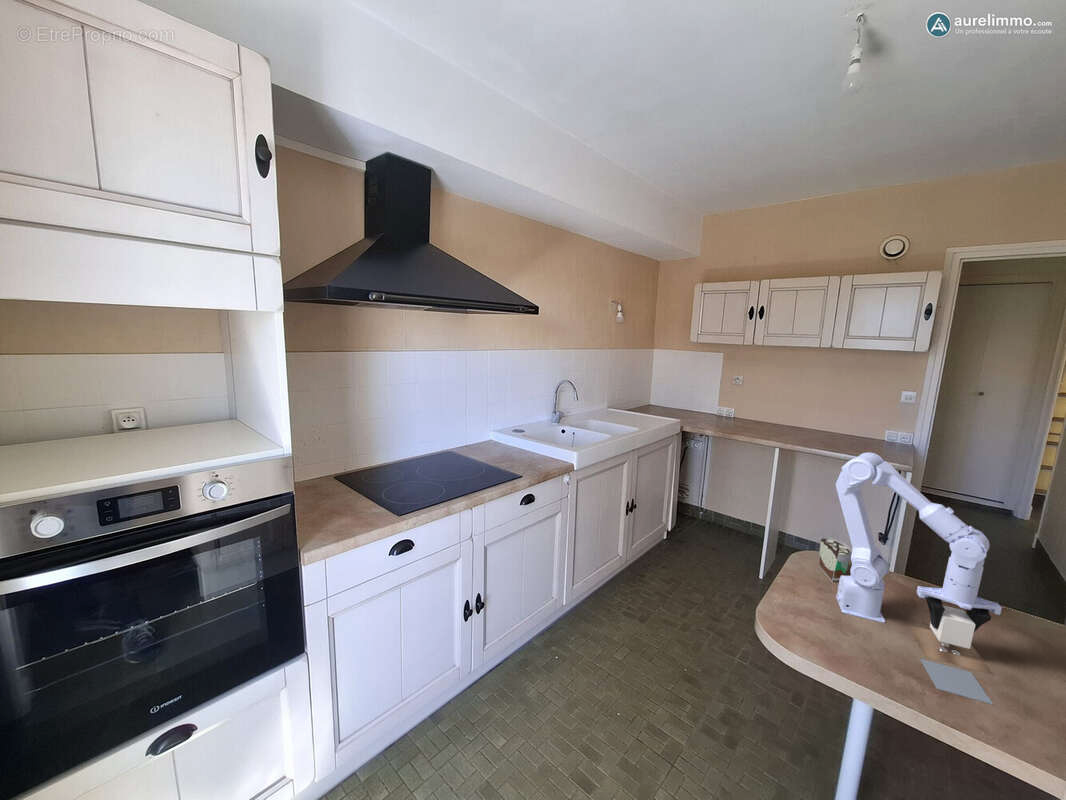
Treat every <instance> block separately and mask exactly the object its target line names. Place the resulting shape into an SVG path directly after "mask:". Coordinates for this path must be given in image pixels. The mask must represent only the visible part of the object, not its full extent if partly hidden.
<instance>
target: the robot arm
mask: <svg viewBox="0 0 1066 800" xmlns="http://www.w3.org/2000/svg"><path fill="white" fill-rule="evenodd" d="M871 480H873V481H872V483H871V484H872V485H876V486H881V487H887V488H889V489H891V490H892V491H893V492H894V493H896V494H897V495H898V496H899V497H901V498H902V499H903V500H904V501H905V502H907V503H908V504H909V505H910V506H912V507H913V508H914V509H916V510H917V511H918V514H919V516H918V517H919V520H921V522H923V523H924V524H925V525H926V526H928V527H929V528H930V529H931V530H932V531H933V532H934V533H936V535H938V536H939V537H940V538H942V539H943V540H944V541H945V542H947V543H948V544H949V549H950V551H951V554H950V556H949V557H948V561H947V566H946V570H945V575H944V580H943V585H942V588H940V587H927V586H920V585H917V588H916V594H917V595H918V597H919V598H922V599H925V601H926V603H927V606H928V609H929V615H930V623H931V624H932V626H933V627H934V628H935V629H938V628H939V625H940V619H941V616H942V614H943V612H944V611H945V608H944V607H943V606H944V605H943V604H944V603H943V602H947V603H950V604H953V605H956V606H958V607H959V608H960V609H963V610H964V609H965V610H966V614H967V615H968V616H969V617H970V618H971V620H972V621H973V622H974V623H975V629H974V634H975V633H976V631H977V630H979V628H980V627H981V626H982V625H984V624H986V623H987V622H989V621H991V620H992V615H991V614H990V612H991V613H992V614H995V615H998V616H1001V613H1002V610H1003V609H1002V608H1003V607H1001V605H1000V604H999V603H998V602H995V601H991V600H988V599H984V598H982V597H980V596H979V597H978V593H979V589H980V585H981V580H982V577H983V571H984V564H985V558H987V554H988V551H989V550H990V540H989V539H988V538H987V536H986V535H985V534H984V533H983V532H982V531H980V530H978V529H975V528H974V527H973V526H972V525H969V526H968V524H966V523H965V522H963V520H962V519H960V518H959V517H958V516H957V515H955V514H954V513H955V511H954V510H953V509H952V508H951V507H949V506H947V507H946V506H944V505H943V504H941V503H940V504H939V503H935V502H931V500H929V499H928V498H927V497H926V496H924V494H922V492H920V490H918V489H917V488H916V487H915V486H914V485H913V484H911V483H910V482H909V480H907V479H906V478H905V477H904V476H902V474H901V473H900V472H898V471H897V469H895V468H894V467H893V465H892V464H890V463H889V462H888V461H886V460H885V461H884V459H883V458H882V457H881V456H880V455H878V454H876V453H873V452H863V453H861V454H859V455H858V456H856V457H855V458H851V459H850V460H848V461H847V462H846V463H845V464H844V465H843V466H841V471H840V473H839V476H838V478H837V481H836V482H835V488H836V492H837V494H838V495H837V496H838V499H839V504H840V507H841V510H842V514H843V518H844V520H845V521H844V522H845V525H846V528H847V533H848V536H849V539H850V544H851V548H852V549H851V551H852V554H851V560H850V561H851V567H850V575H845V576H844V575H841V577H840V580H839V582H838V586H837V593H836V595H835V598H836V600H837V602H838V605H839V608H840V611H841V613H843V614H846V615H851V616H854V617H859V618H863V619H866V620H871V621H875V622H879V623H883V624H885V623H886V620H885V618H884V616H883V614H882V612H881V610H882V603H883V600H884V599H883V598H884V594H885V593H884V592H885V586H886V583H885V581H884V579H883V578H884V576H885V575H887V574H888V573H889V571H890V566H889V563H888V561H887V560H886V559H885V558H884V556H883V555H882V551H881V549H880V548H878V547H877V545H876V543H875V538H874V536H873V535H874V534H873V532H872V528H871V525H870V521H869V517H868V514H867V510H866V509H867V508H866V507H865V503H864V500H863V495H862V491H861V488H862V487H863V486H864V485H865V484H866V483H867V482H869V481H871Z"/></svg>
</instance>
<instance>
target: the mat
mask: <svg viewBox="0 0 1066 800" xmlns="http://www.w3.org/2000/svg"><path fill="white" fill-rule="evenodd" d="M919 660H920V662H921V663H922V666H923V667H924V668H925V671H926V672H927V674H928V676H929V678H930V679H931V681H932V683H933V685H934V686H935V688H936V690H939V691H943V692H946V693H950V694H954V695H957V696H961V697H964V698H968V699H971V700H973V701H977V702H982V703H984V704H989V705H994V703H993V702H992V700H991V699H990V697H989V696H988V695H987V693H986V692H985V691H984V689H983V687H982V686H981V685H980V683H979V682H978V680H977V679H976V677H975V676H974V674H973V673H972V672H971V671H968V670H964V669H960V668H957V667H952V666H949V665H945V664H941V663H937V662H934V661H930V660H927V659H922V658H920V659H919Z"/></svg>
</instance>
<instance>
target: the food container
mask: <svg viewBox="0 0 1066 800" xmlns="http://www.w3.org/2000/svg"><path fill="white" fill-rule="evenodd" d="M851 548H852V547H850V546H849V545H848V544H846V543H844V542H843V541H840V540H839V539H835V538H832V537H828V536H824V535H820V538H819V551H818V552H819V553H818V563H817V565H819V566H818V567H819V568H820V569H821V571H822V570H823V571H822V572H823V573H824V574H825V576H826V577H827V578H828V579H829V580H830V581H831V582H833V583H836V584H837V583H838V584H839V580H840V577H841V575H844V576H846V573H847V569H848V567H849V564H850V563H849V562H850V561H851V554H852V549H851Z"/></svg>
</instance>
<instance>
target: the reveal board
mask: <svg viewBox="0 0 1066 800" xmlns="http://www.w3.org/2000/svg"><path fill="white" fill-rule="evenodd" d="M906 627H908V630H909V631H910V633H911V634H912V636H913V638H914V639H915V641H916V643H917V644H918V646H919V648H920V650H921V651H922V653H923V655H924V657H925V658H929V659H933V660H936V661H940V662H943V663H947V664H951V665H954V666H959V667H962V668H967V669H970V670H974V671H978V672H982V673H985V674H989V675H993V676H994V675H995V674H994V673H993V671H992V670H991V669H990V667H989V666H988V665H987V663H986V662H985V660H984V659H983V658H982V656H981V655H980V654H979V652H978V651H977V649H976V648H975V647H974V645H972V644H971V646H970V649H968V648H964V647H960V646H956V645H952V644H948V643H944V642H940V641H939V640H938V638H937V637H936V635H935V634H934V632H933V631H932V629H927V628H924V627H919V626H914V625H911V624H906Z"/></svg>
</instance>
